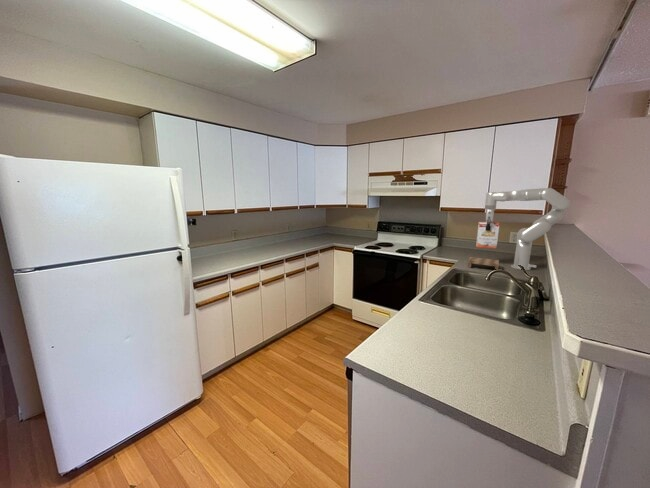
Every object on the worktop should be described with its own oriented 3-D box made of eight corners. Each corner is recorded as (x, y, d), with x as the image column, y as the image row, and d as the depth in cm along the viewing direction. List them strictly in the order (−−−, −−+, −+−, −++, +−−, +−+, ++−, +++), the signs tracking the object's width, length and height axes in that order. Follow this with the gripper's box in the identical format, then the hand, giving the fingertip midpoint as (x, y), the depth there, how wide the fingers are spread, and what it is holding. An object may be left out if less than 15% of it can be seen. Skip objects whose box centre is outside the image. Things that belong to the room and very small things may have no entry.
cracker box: (477, 247, 217) (479, 222, 213) (475, 246, 223) (478, 221, 219) (497, 248, 212) (499, 222, 209) (495, 247, 218) (497, 222, 214)
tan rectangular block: (497, 267, 210) (498, 260, 209) (497, 271, 198) (498, 264, 197) (469, 263, 221) (470, 256, 220) (467, 267, 209) (468, 260, 208)
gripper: (495, 208, 202) (493, 231, 206) (496, 207, 217) (493, 229, 220) (484, 208, 207) (482, 230, 210) (485, 207, 221) (483, 228, 224)
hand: (488, 229), depth 215 cm, fingers closed on cracker box, 6 cm apart
